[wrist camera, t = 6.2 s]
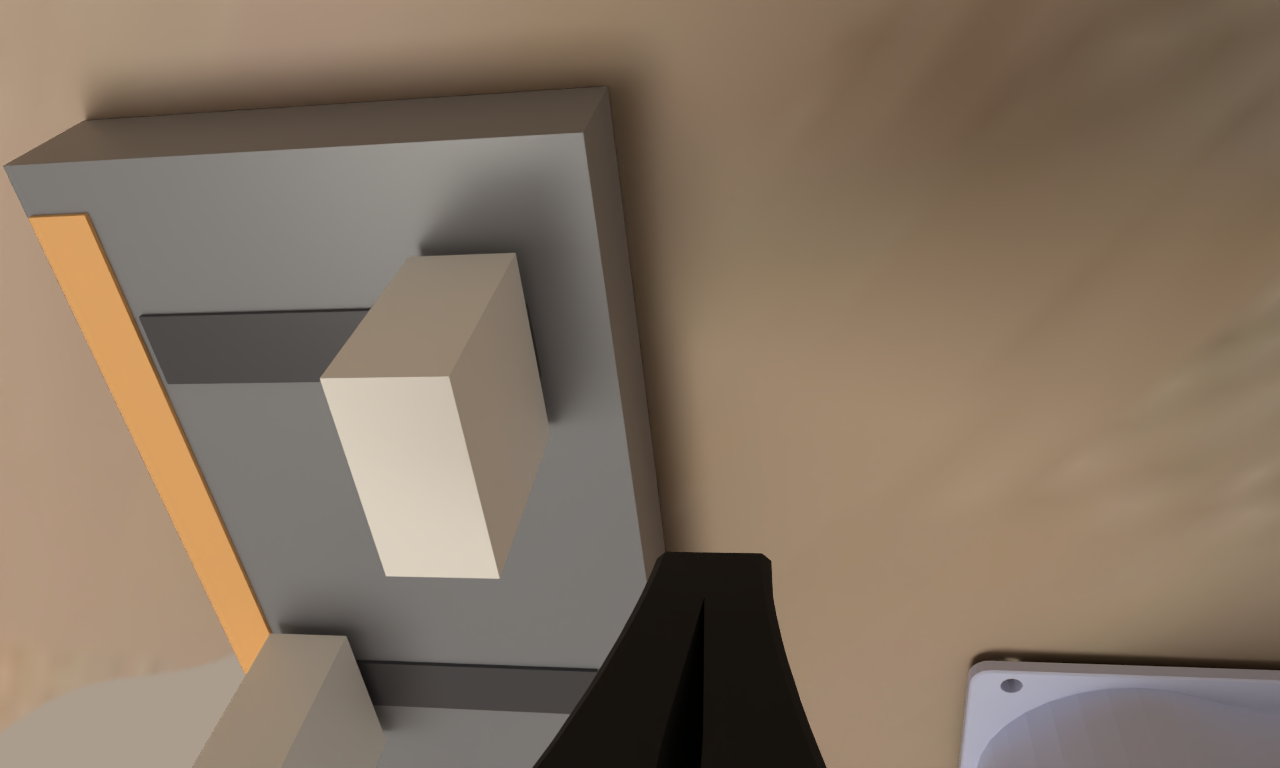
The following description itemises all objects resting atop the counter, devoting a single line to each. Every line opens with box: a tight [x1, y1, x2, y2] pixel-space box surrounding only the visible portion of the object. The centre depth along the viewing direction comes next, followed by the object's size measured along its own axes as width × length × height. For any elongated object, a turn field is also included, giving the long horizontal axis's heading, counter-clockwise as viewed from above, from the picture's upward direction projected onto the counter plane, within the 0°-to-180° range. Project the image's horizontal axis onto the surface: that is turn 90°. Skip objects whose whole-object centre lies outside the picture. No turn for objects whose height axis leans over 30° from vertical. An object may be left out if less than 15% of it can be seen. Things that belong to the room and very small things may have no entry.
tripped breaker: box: [320, 253, 551, 579], centre depth 17 cm, size 2×4×4 cm, turn 6°
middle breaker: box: [192, 633, 387, 768], centre depth 24 cm, size 2×4×4 cm, turn 6°
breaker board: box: [3, 86, 666, 768], centre depth 26 cm, size 11×28×3 cm, turn 6°
